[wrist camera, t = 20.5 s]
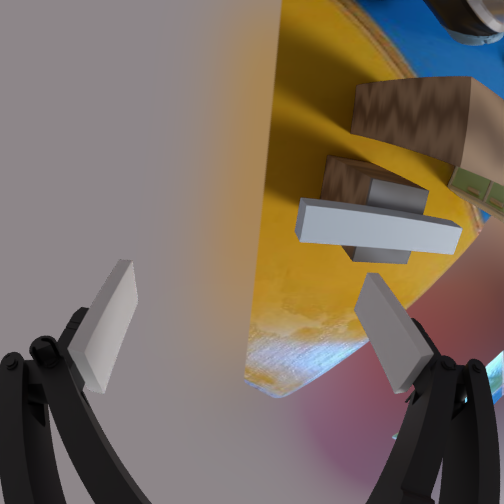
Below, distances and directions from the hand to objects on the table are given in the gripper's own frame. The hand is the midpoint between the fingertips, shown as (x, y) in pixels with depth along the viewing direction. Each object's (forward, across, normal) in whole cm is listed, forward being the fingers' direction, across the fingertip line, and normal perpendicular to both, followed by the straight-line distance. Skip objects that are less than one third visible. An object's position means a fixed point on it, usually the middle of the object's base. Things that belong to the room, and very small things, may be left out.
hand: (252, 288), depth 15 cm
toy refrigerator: (+39, +52, +5) cm, 65 cm away
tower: (+39, +25, +13) cm, 48 cm away
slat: (+20, +20, -3) cm, 28 cm away
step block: (+38, +21, -3) cm, 44 cm away
